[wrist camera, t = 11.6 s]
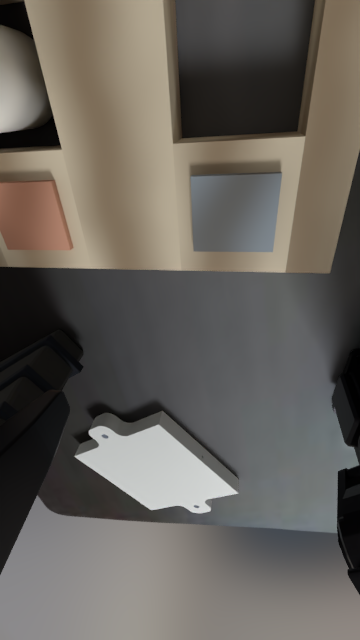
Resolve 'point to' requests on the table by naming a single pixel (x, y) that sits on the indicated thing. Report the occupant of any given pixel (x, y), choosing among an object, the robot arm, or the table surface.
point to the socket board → (175, 153)
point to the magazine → (37, 372)
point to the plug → (21, 83)
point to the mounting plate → (156, 462)
